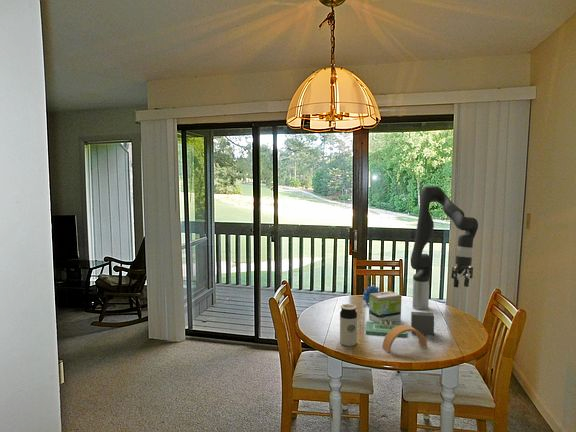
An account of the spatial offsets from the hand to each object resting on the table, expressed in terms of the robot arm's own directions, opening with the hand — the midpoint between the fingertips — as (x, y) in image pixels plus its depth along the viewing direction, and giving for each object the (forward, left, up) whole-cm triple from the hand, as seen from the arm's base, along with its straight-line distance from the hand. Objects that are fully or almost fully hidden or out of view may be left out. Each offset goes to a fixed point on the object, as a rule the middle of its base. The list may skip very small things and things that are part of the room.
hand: (461, 286), depth 196 cm
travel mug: (+28, -56, -23) cm, 66 cm away
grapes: (-37, -46, -23) cm, 63 cm away
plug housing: (+8, -20, -23) cm, 31 cm away
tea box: (-8, -38, -23) cm, 45 cm away
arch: (+28, -30, -23) cm, 47 cm away
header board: (+8, -38, -23) cm, 45 cm away
